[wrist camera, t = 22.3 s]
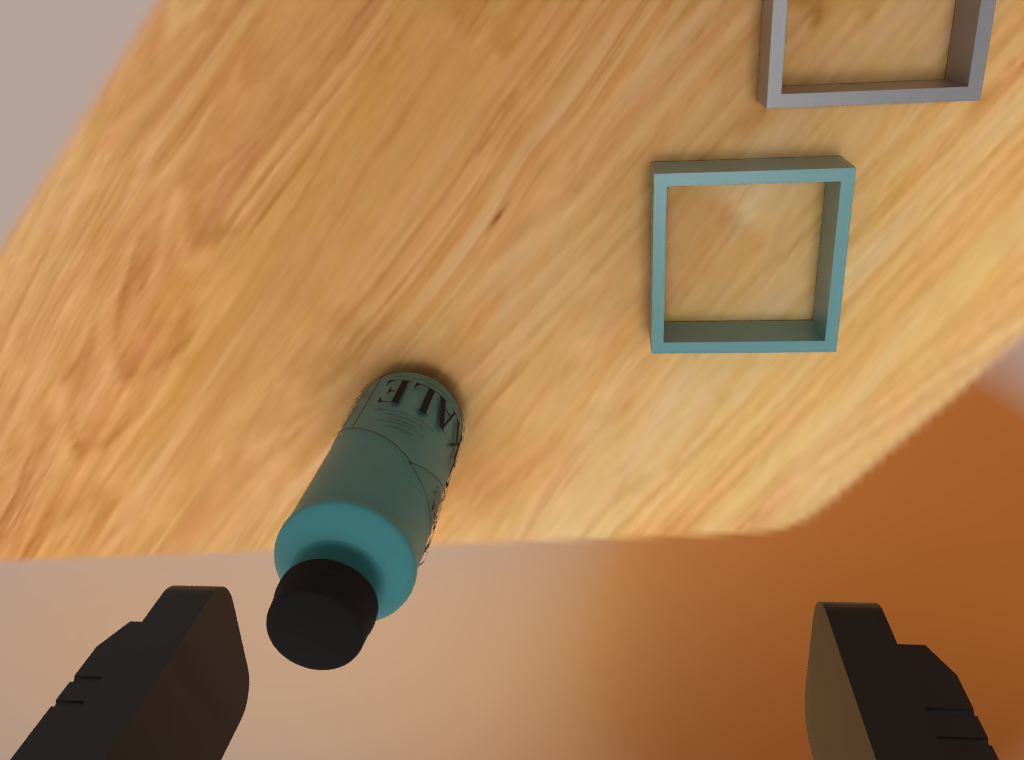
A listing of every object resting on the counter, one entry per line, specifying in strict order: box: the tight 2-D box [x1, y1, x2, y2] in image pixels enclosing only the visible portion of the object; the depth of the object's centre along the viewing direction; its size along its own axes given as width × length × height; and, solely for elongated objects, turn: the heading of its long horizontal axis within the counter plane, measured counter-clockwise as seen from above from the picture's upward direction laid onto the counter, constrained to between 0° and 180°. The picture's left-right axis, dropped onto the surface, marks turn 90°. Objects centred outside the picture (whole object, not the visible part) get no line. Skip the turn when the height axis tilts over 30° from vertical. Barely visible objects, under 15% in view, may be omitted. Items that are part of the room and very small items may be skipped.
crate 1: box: [649, 156, 856, 353], centre depth 45 cm, size 9×9×3 cm
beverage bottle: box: [266, 372, 465, 670], centre depth 43 cm, size 6×7×20 cm
